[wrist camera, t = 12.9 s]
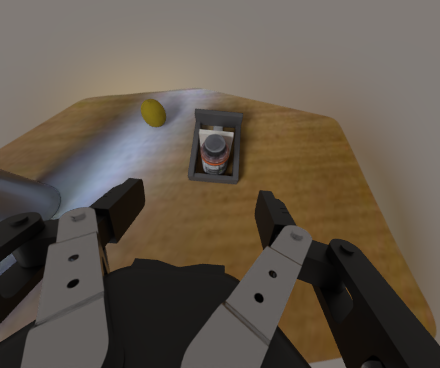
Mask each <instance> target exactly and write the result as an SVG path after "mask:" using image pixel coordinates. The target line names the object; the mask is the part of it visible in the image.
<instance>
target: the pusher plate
mask: <svg viewBox="0 0 440 368" xmlns="http://www.w3.org/2000/svg"><path fill="white" fill-rule="evenodd" d="M222 130H223V127H220V126H214V129H213V130H202V129H200V130H199V137H200V145H201V146H202V144H203V143H204V141H205V139H206V138H207V137H208V136H209V135H211V134H218V135H221V136H222V137H223V138H224V139H225V142H226V143H227V144H228V146H229V156H230V151H231V146H232V141H233V134H234V132H224V131H222Z"/></svg>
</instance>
